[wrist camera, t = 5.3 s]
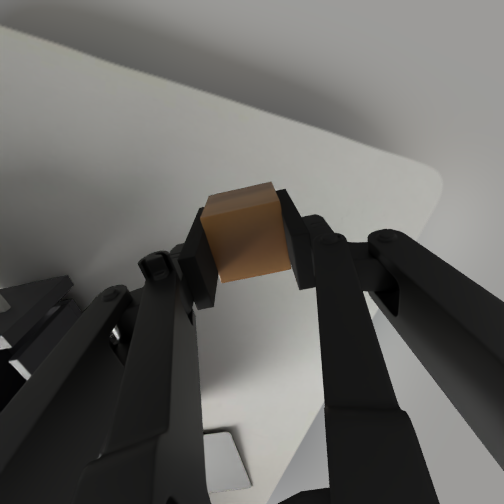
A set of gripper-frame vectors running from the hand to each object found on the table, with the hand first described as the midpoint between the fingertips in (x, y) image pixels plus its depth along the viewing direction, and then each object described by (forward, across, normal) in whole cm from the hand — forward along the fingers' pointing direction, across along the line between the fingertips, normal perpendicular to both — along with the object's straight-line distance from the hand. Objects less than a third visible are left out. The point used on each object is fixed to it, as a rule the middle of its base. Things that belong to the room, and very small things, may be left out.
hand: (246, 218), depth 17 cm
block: (0, 0, 0) cm, 0 cm away
